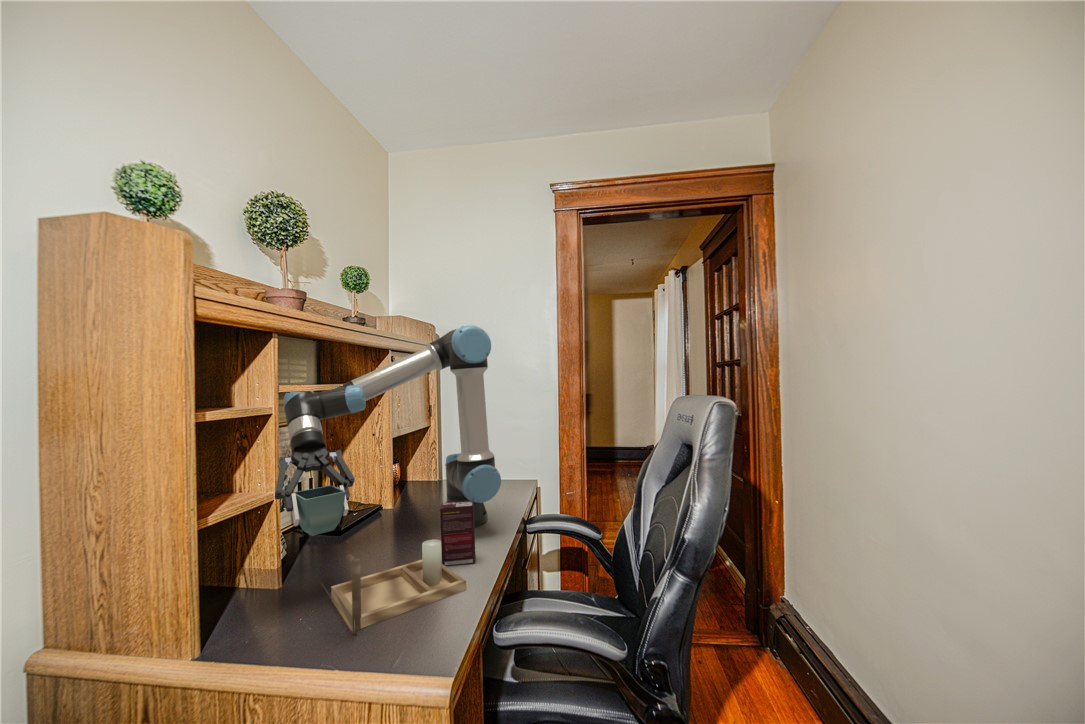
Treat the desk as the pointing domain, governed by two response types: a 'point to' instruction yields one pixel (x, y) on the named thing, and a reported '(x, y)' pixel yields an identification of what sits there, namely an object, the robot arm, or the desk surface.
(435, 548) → the pillar candle
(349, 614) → the caddy
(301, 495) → the flower pot
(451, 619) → the desk surface
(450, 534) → the supplement box
